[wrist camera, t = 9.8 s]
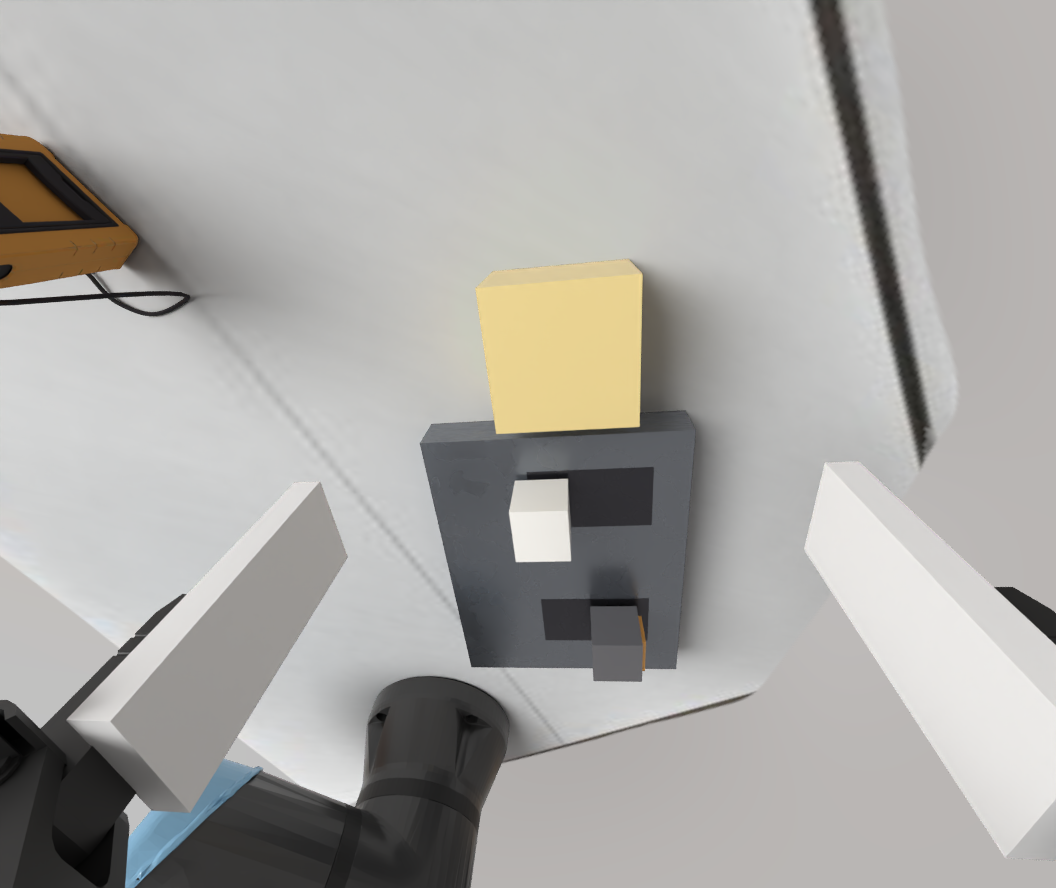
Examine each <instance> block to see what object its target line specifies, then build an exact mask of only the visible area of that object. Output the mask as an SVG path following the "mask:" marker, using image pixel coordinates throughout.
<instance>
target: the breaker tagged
mask: <svg viewBox="0 0 1056 888" xmlns="http://www.w3.org/2000/svg"><path fill="white" fill-rule="evenodd" d="M590 615H591V637H592V658H593V677H594V681H635V682H642V671H645V654H646V640H645V634H644V628H643V622H642V617H641V616H638V612H637V606H590Z"/></svg>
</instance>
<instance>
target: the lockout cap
mask: <svg viewBox="0 0 1056 888" xmlns="http://www.w3.org/2000/svg"><path fill="white" fill-rule="evenodd" d="M642 278H643V274H642V272H641V271H640V270H639V269H638V268H637V267H636V266H635V265H634V264H633V263H632V262H631V261H630V260H629V259H622V260H611V261H600V262H589V263H578V264H567V265H556V266H545V267H534V268H523V269H512V270H502V271H493V272H492V273H491V274H490V275H489V276H488V277H486V278H485V279H484V280H483V281H482V282H481V283H480V284H479V285H478V286H477V287H476V288H475V289H476V296H477V303H478V310H479V317H480V324H481V331H482V338H483V345H484V352H485V359H486V366H487V373H488V380H489V387H490V394H491V401H492V408H493V415H494V422H495V429H496V434H507V433H527V432H547V431H567V430H587V429H607V428H627V427H640V380H641V329H642Z"/></svg>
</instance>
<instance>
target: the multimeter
mask: <svg viewBox="0 0 1056 888" xmlns="http://www.w3.org/2000/svg"><path fill="white" fill-rule="evenodd" d="M137 244H138V237H137V235H136V234H135V233H134V232H133V231H132V230H131V229H130V228H129V227H128V226H127V225H124V224H123V223H122V222H121V221H120V220H119V219H118V218H117V217H116V216H115V215H114V214H113V213H112V212H110V211H109V210H108V209H107V208H106V207H105V206H104V205H103V204H102V203H101V202H100V201H99V200H98V199H97V198H96V197H95V196H94V195H93V194H92V193H90V192H89V191H88V190H87V189H86V188H85V187H84V186H83V185H82V184H81V183H80V182H79V181H78V180H77V179H76V178H75V177H74V176H73V175H72V174H70V173H69V172H68V171H67V170H66V169H65V168H64V167H63V166H62V165H61V164H60V163H59V162H58V161H57V160H56V159H55V156H54V155H53V154H52V153H51V152H49V151H48V150H47V149H46V148H45V147H44V146H43V145H41V144H40V143H39V142H37V141H36V140H34V139H32V138H30V137H27V136H15V135H7V134H0V288H6V287H13V286H19V285H25V284H31V283H37V282H43V281H49V280H55V279H60V278H66V277H72V276H77V275H83V274H86V275H87V276H88V277H89V278H90V279H91V281H92V282H93V283H94V284H95V285H96V287H97V288H98V289H99V290H100V291H101V292H102V293H103V294H91V295H76V296H61V297H46V298H31V299H16V300H0V306H2V305H22V304H35V303H49V302H62V301H76V300H90V299H103V298H108V299H110V300H111V301H112V302H114V303H115V304H117V305H119V306H121V307H123V308H125V309H127V310H129V311H132V312H134V313H137V314H141V315H145V316H157V315H162V314H165V313H168V312H170V311H173V310H174V309H176V308H178V307H180V306H181V305H183V304H185V303H186V302H188V300H189V298H190V296H189V295H187V294H184V293H182V292H171V291H147V292H125V293H108V292H107V291H105V289H104V288H103V287H102V286H101V285H100V284H99V282H98V281H97V280H96V279H95V278H94V277H93V276H92V274H91V273H95V272H101V271H106V270H112V269H120V268H121V267H122V265H123V264H124V262H125V261H126V260H127V258H128V257H129V255H130V254H131V252H132V251H133V250H134V248H135V247H136V245H137ZM165 295H170V296H183V297H184V299H183V300H181V301H180V302H178V303H177V304H175V305H173V306H171V307H169V308H167V309H165V310H162V311H158V312H144V311H140V310H137V309H134V308H132V307H130V306H127V305H125V304H123V303H121V302H119V301H118V300H116V299H115V298H117V297H136V296H165Z"/></svg>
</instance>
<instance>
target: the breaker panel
mask: <svg viewBox="0 0 1056 888" xmlns="http://www.w3.org/2000/svg"><path fill="white" fill-rule="evenodd" d="M695 434H696V429H695V428H694V426H693V424H692V422H691V420H690V418H689V417H688V415H687V413H686V411H668V412H650V413H640V427H627V428H607V429H587V430H567V431H547V432H527V433H507V434H496V429H495V422H494V421H481V422H462V423H444V424H431V426H430V428H429V429H428V431H427V432H426V434H425V436H424V437H423V439H422V441H421V442H420V446H421V450H422V455H423V459H424V463H425V468H426V472H427V476H428V481H429V485H430V489H431V494H432V498H433V502H434V507H435V511H436V515H437V520H438V524H439V528H440V533H441V537H442V541H443V546H444V550H445V554H446V559H447V563H448V567H449V572H450V576H451V580H452V584H453V589H454V593H455V597H456V602H457V606H458V610H459V615H460V619H461V623H462V628H463V632H464V636H465V641H466V645H467V649H468V654H469V658H470V662H471V667H514V668H593V658H592V637H591V615H590V606H637V612H638V616H641V617H642V622H643V628H644V634H645V640H646V654H645V669H676V663H677V651H678V639H679V627H680V615H681V603H682V591H683V579H684V567H685V555H686V543H687V530H688V518H689V506H690V494H691V482H692V470H693V458H694V446H695ZM546 479H568V488H569V503H570V519H571V561H555V562H516V559H515V552H514V545H513V538H512V531H511V524H510V517H509V509H510V504H511V499H512V494H513V488H514V483H515V481H520V480H546Z"/></svg>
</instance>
